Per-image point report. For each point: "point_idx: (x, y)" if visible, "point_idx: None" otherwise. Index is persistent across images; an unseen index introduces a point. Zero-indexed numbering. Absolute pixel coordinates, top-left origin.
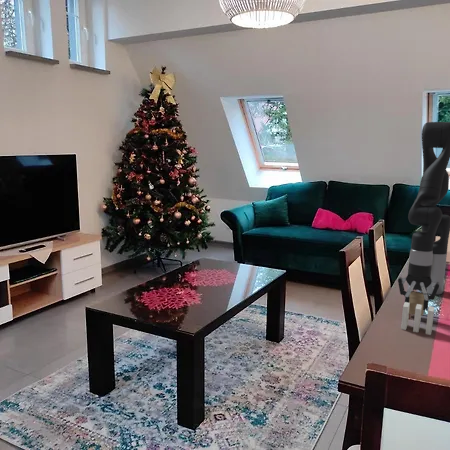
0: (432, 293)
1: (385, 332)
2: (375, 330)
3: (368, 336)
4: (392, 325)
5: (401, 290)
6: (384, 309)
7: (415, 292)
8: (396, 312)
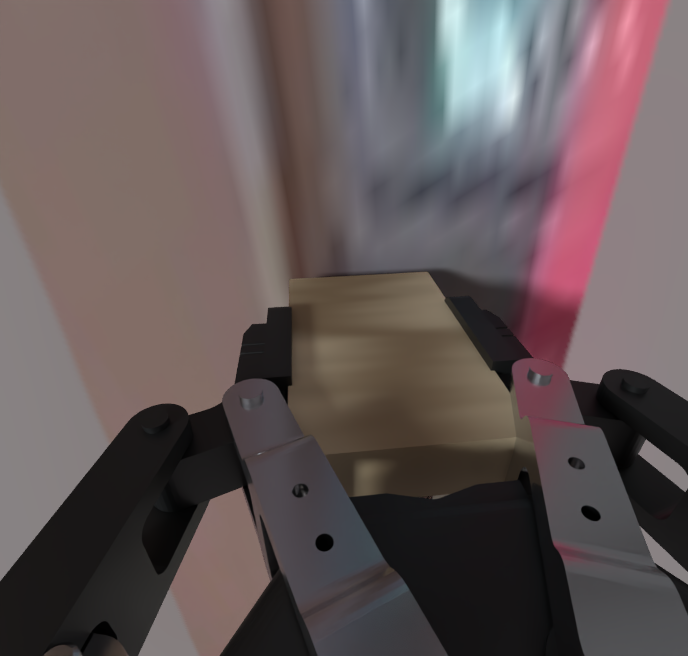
0: (642, 521)
1: (243, 580)
2: (192, 586)
3: (194, 635)
4: (245, 503)
5: (160, 541)
6: (41, 241)
7: (381, 488)
8: (178, 261)
